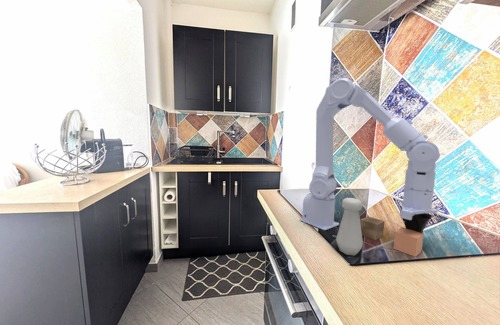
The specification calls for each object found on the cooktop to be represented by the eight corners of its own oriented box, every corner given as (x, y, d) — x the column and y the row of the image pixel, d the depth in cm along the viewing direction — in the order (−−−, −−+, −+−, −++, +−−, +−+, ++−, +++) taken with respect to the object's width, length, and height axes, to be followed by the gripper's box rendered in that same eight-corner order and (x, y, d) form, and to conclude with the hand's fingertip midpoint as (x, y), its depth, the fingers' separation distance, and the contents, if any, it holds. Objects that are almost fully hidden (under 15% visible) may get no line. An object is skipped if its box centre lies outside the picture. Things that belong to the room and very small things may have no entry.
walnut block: (359, 234, 60) (360, 219, 60) (366, 230, 63) (367, 216, 62) (375, 240, 56) (377, 224, 56) (383, 236, 59) (384, 221, 58)
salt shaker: (365, 259, 47) (369, 203, 46) (338, 256, 48) (342, 201, 47) (357, 246, 53) (361, 196, 51) (333, 243, 54) (336, 195, 53)
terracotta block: (393, 248, 52) (395, 231, 52) (400, 243, 55) (402, 227, 54) (415, 256, 48) (417, 238, 48) (421, 251, 51) (423, 233, 51)
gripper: (430, 196, 45) (423, 256, 46) (447, 188, 53) (441, 238, 55) (392, 190, 50) (388, 243, 52) (413, 183, 59) (408, 229, 60)
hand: (413, 240), depth 54 cm, fingers closed
